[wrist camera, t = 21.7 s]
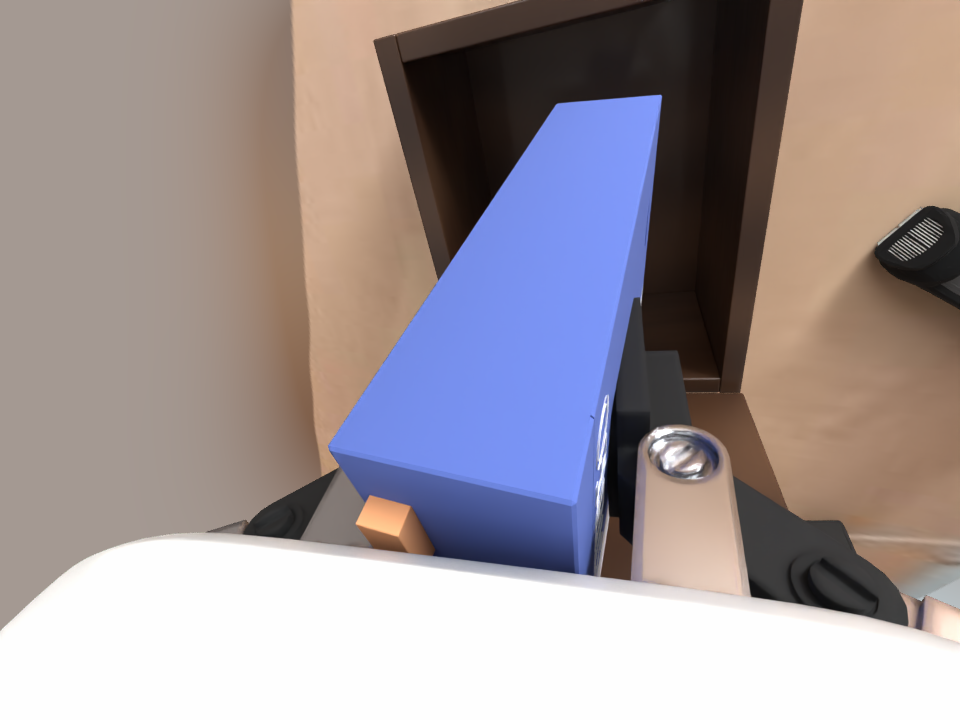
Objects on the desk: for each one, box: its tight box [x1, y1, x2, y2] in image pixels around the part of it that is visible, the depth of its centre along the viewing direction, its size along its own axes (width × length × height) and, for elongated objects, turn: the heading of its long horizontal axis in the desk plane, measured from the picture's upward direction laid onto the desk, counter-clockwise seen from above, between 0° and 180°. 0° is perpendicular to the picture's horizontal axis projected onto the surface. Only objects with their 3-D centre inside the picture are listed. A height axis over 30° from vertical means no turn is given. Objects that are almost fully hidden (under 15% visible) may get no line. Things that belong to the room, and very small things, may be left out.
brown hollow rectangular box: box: [374, 0, 803, 393], centre depth 23 cm, size 17×14×10 cm
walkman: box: [328, 95, 662, 577], centre depth 11 cm, size 8×3×12 cm, turn 8°
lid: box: [600, 393, 788, 581], centre depth 17 cm, size 18×14×5 cm
